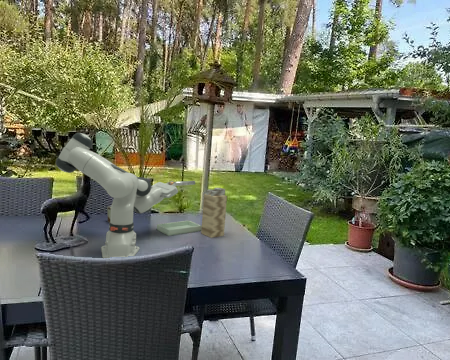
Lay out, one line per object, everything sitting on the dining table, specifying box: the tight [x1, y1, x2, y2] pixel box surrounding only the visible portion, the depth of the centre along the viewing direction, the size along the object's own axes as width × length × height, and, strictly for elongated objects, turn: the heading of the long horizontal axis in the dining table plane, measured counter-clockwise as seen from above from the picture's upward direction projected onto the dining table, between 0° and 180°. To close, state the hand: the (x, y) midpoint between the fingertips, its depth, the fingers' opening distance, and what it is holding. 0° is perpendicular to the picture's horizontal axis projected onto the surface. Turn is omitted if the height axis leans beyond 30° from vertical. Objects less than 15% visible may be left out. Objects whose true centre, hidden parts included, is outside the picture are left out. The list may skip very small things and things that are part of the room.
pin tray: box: [156, 220, 202, 237], centre depth 229 cm, size 24×14×4 cm, turn 130°
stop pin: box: [168, 180, 196, 187], centre depth 226 cm, size 18×2×2 cm, turn 130°
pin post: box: [200, 187, 228, 239], centre depth 225 cm, size 10×10×29 cm
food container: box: [106, 205, 111, 223], centre depth 234 cm, size 12×6×10 cm, turn 47°
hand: (174, 182), depth 222 cm, fingers closed on stop pin, 2 cm apart
